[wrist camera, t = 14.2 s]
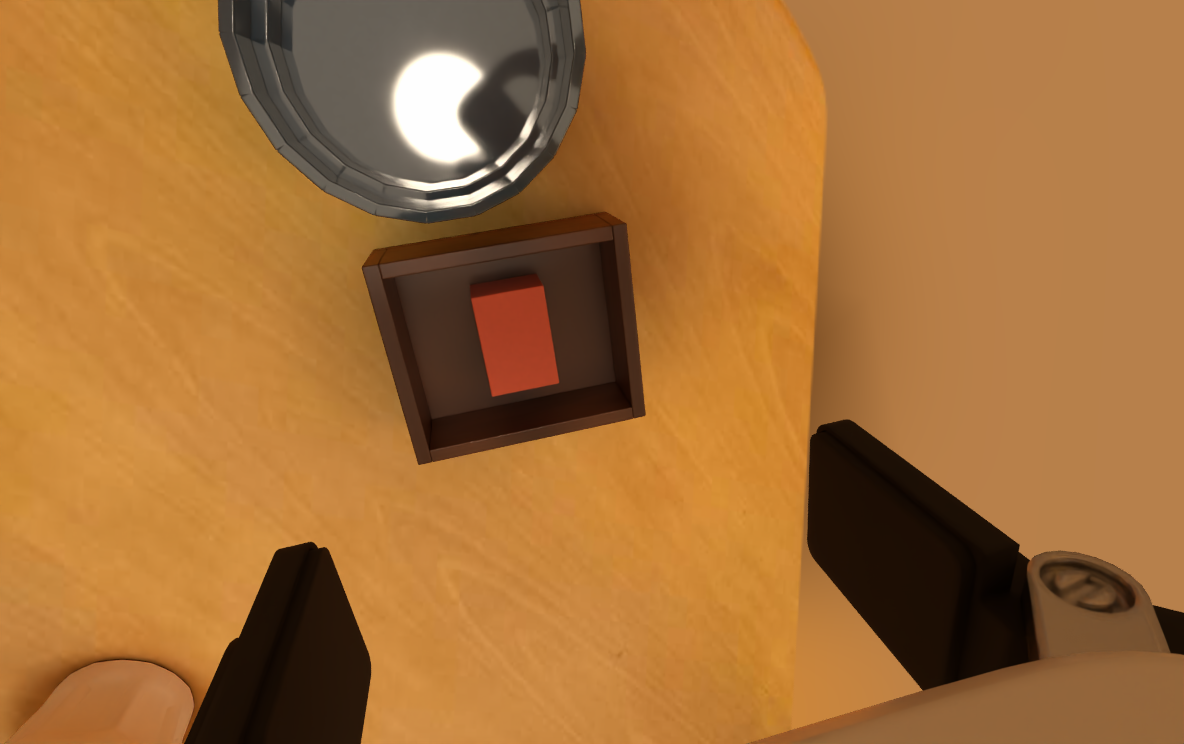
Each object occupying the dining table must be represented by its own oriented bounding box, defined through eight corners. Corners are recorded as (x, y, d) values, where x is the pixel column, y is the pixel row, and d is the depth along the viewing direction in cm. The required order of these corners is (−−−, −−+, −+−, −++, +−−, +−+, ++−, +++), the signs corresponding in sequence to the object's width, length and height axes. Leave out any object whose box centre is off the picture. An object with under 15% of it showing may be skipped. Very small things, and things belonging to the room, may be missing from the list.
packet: (536, 273, 35) (543, 285, 32) (552, 365, 38) (559, 383, 35) (469, 284, 35) (470, 298, 32) (489, 377, 37) (492, 397, 34)
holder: (606, 211, 35) (626, 222, 31) (626, 386, 40) (646, 416, 36) (373, 249, 33) (361, 267, 29) (422, 428, 38) (418, 465, 34)
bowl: (542, -142, 28) (558, -193, 24) (583, 186, 34) (602, 195, 30) (204, -117, 26) (151, -168, 22) (312, 229, 32) (289, 245, 28)
